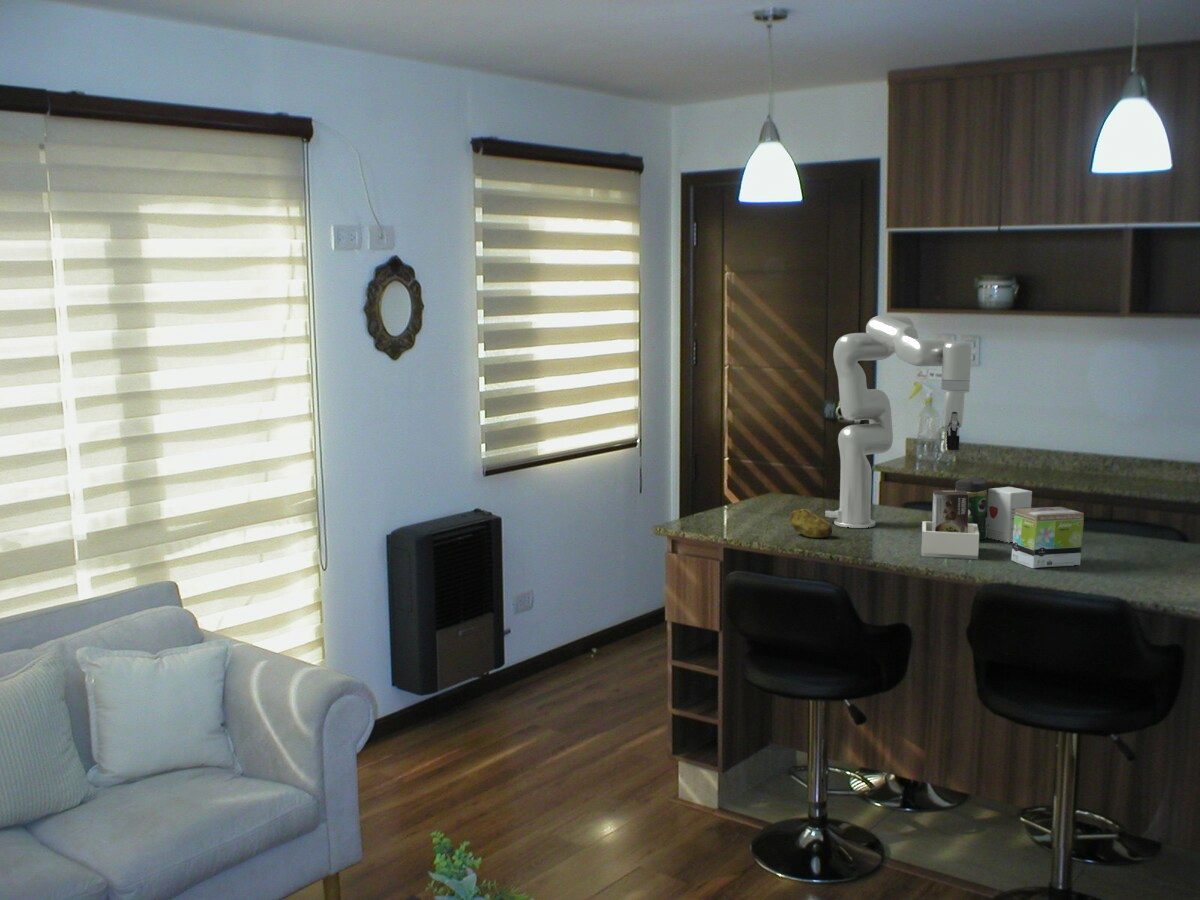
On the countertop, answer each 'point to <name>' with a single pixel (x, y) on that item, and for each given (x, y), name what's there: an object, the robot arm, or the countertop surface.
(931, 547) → the tote
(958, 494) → the coffee box
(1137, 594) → the countertop surface
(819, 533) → the potato
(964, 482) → the coffee jar
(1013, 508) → the supplement box
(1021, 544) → the tea box
